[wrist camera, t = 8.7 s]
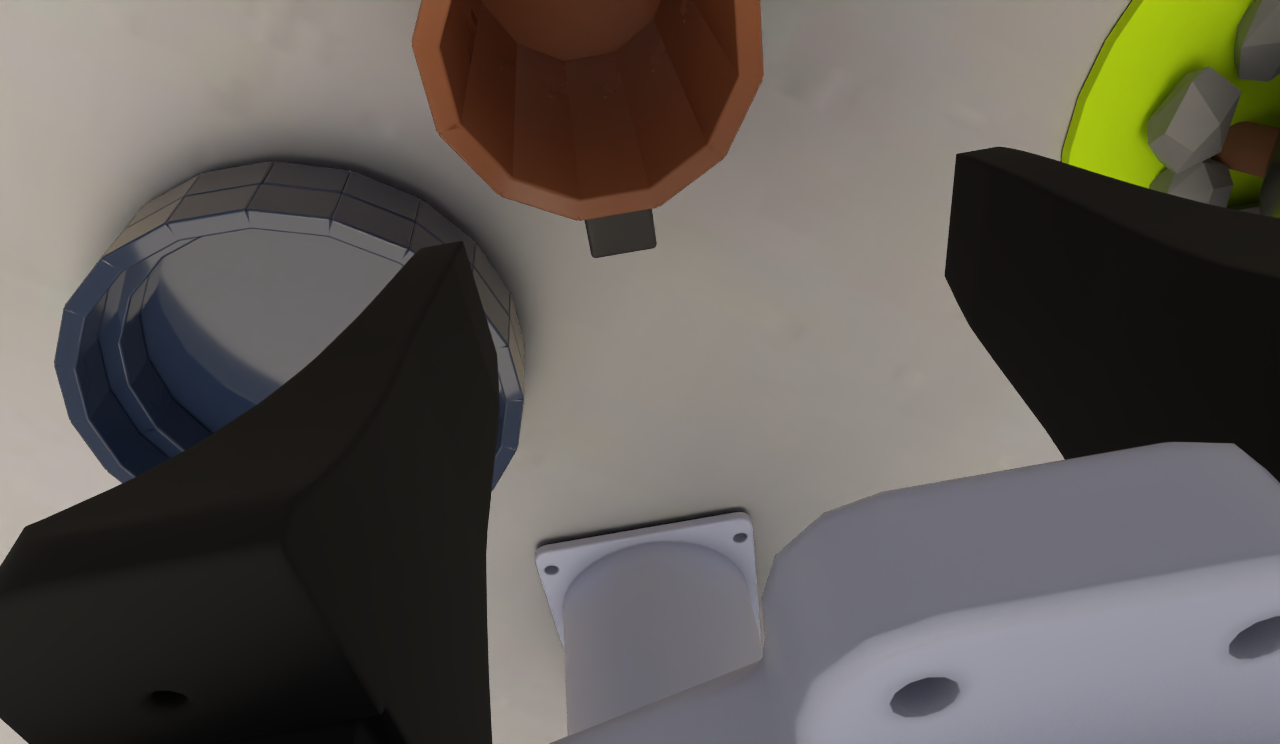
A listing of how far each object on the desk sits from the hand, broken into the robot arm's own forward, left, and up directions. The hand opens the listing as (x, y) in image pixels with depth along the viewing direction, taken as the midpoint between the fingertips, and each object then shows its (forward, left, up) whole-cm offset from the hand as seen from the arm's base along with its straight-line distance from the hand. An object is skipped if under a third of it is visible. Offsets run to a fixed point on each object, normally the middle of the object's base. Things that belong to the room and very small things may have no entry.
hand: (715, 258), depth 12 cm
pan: (-7, +10, -10) cm, 16 cm away
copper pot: (+2, +1, -10) cm, 11 cm away
